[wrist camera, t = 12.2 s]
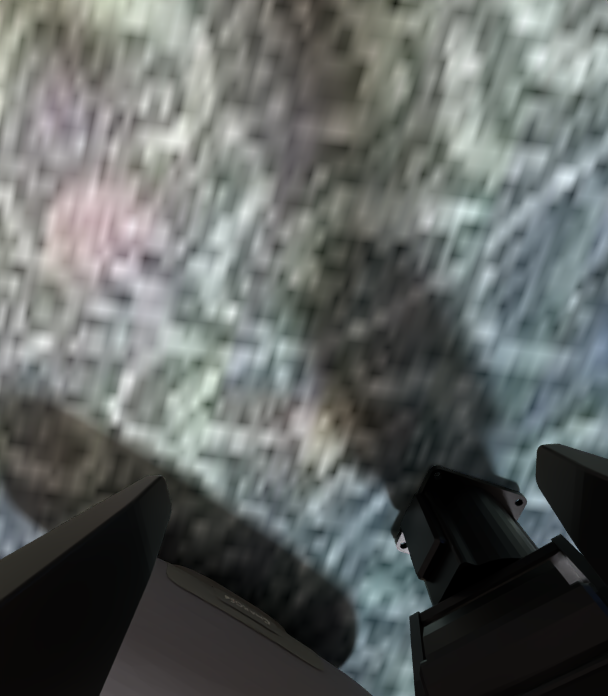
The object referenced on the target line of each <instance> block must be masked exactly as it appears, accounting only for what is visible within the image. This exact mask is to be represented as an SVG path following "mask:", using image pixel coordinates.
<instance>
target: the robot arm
mask: <svg viewBox="0 0 608 696" xmlns="http://www.w3.org/2000/svg"><path fill="white" fill-rule="evenodd" d="M436 473H440V474H439V475H438V476H434V475H435V474H436ZM536 482H537V485H538V487H539V489H540V490H541V492H542V493H543V495H544V497H545V498H546V500H547V501H548V503H549V504H550V506H551V508H552V509H553V511H554V512H555V514H556V515H557V517H558V519H559V520H560V522H561V523H562V525H563V527H564V528H565V530H566V531H567V533H568V534H569V536H570V538H571V539H572V541H573V542H574V544H575V545H576V546H577V548H578V549H579V551H580V552H581V553H582V554H581V553H580V552H579V551H578V550H577V549H576V548H575V547H574V546H573V545H572V544H571V543H569V542H568V541H567V540H566V539H565V538H564V537H563V536H562V535H561V534H560V535H558V536H556V537H554V538H552V539H551V540H552V542H550V543H548V544H546V545H545V546H543V547H541V548H539V549H538V548H537V546H536V545H535V544H534V542H533V541H532V540H531V539H530V537H529V536H528V535H527V533H526V532H525V531H524V530H523V528H522V527H521V526H520V524H519V523H518V522H517V520H518V518H519V516H520V515H521V513H522V511H523V509H524V508H525V506H526V504H527V500H526V498H525V497H524V496H523V495H522V494H521V493H520V492H517V491H514V490H511V489H508V488H505V487H502V486H499V485H496V484H493V483H490V482H487V481H484V480H481V479H478V478H475V477H472V476H469V475H466V474H463V473H460V472H456V471H453V470H450V469H447V468H444V467H441V466H437V465H436V466H433V467H431V468H430V469H429V471H428V473H427V475H426V477H425V479H424V481H423V483H422V485H421V488H420V490H419V492H418V493H416V494H415V495H414V497H413V499H412V501H411V503H410V505H409V507H408V509H407V511H406V513H405V515H404V518H403V520H402V522H401V524H400V526H401V529H400V531H399V533H398V535H397V537H396V539H395V543H396V547H397V549H398V550H399V551H401V552H404V553H407V554H410V556H411V560H412V563H413V566H414V569H415V572H416V574H417V576H418V578H419V579H420V580H423V581H424V582H425V585H426V588H427V591H428V594H429V597H430V600H431V602H432V605H433V606H432V607H431V608H429V609H427V610H425V611H423V612H421V613H420V612H416V613H415V614H413V615H411V616H410V617H409V618H410V631H411V634H410V635H411V648H412V661H413V673H414V686H415V696H608V459H606V458H603V457H600V456H596V455H593V454H590V453H587V452H584V451H580V450H577V449H574V448H571V447H568V446H564V445H561V444H546V445H541V446H539V447H538V449H537V459H536ZM517 499H519V500H518V501H517V502H515V501H516V500H517ZM170 514H171V500H170V496H169V491H168V487H167V482H166V479H165V477H164V476H162V475H154V476H146V477H144V478H142V479H141V480H139V481H137V482H135V483H134V484H132V485H130V486H128V487H127V488H125V489H123V490H121V491H120V492H118V493H116V494H114V495H113V496H111V497H109V498H107V499H106V500H104V501H102V502H100V503H99V504H97V505H95V506H93V507H92V508H90V509H88V510H86V511H85V512H83V513H81V514H79V515H78V516H76V517H74V518H72V519H71V520H69V521H67V522H65V523H64V524H62V525H60V526H58V527H57V528H55V529H53V530H51V531H50V532H48V533H46V534H44V535H43V536H41V537H39V538H37V539H36V540H34V541H32V542H30V543H29V544H27V545H25V546H23V547H22V548H20V549H18V550H16V551H15V552H13V553H11V554H9V555H8V556H6V557H4V558H2V559H1V560H0V696H100V693H101V691H102V689H103V686H104V684H105V682H106V679H107V677H108V675H109V672H110V670H111V668H112V665H113V663H114V661H115V658H116V656H117V654H118V651H119V649H120V647H121V644H122V642H123V640H124V638H125V635H126V633H127V631H128V628H129V626H130V624H131V621H132V619H133V617H134V614H135V612H136V610H137V607H138V605H139V603H140V600H141V598H142V596H143V593H144V591H145V589H146V586H147V584H148V581H149V579H150V576H151V574H152V571H153V568H154V565H155V562H156V559H157V556H158V553H159V549H160V546H161V543H162V540H163V537H164V534H165V530H166V527H167V524H168V521H169V518H170ZM403 542H405V544H401V543H403Z"/></svg>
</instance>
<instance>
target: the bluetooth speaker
mask: <svg viewBox="0 0 608 696" xmlns="http://www.w3.org/2000/svg"><path fill="white" fill-rule="evenodd" d="M100 696H372V695H371V694H370V693H369V692H368V691H366V690H365V689H364V688H363V687H362V686H360V685H359V684H358V683H357V682H355V681H354V680H353V679H352V678H350V677H349V676H348V675H346V674H345V673H343V672H342V671H341V670H339V669H338V668H336V667H335V666H333V665H332V664H330V663H329V662H327V661H326V660H324V659H323V658H321V657H320V656H319V655H317V654H316V653H315V652H314V651H313V650H311V649H310V648H308V647H307V646H305V645H304V644H302V643H301V642H299V641H298V640H296V639H295V638H293V637H292V636H290V635H289V634H287V633H286V631H285V629H284V628H283V627H282V626H281V625H280V624H279V623H278V622H276V621H275V620H274V619H273V618H272V617H270V616H269V615H267V614H266V613H265V612H263V611H262V610H260V609H259V608H257V607H256V606H254V605H253V604H251V603H249V602H248V601H246V600H244V599H243V598H241V597H239V596H238V595H236V594H235V593H233V592H231V591H230V590H228V589H226V588H225V587H223V586H221V585H220V584H218V583H217V582H215V581H213V580H212V579H210V578H208V577H206V576H204V575H202V574H200V573H198V572H196V571H194V570H192V569H189V568H186V567H183V566H180V565H175V564H174V565H172V564H170V563H168V562H167V561H166V562H165V561H163V560H161V559H159V558H157V559H156V562H155V565H154V568H153V571H152V574H151V576H150V579H149V581H148V584H147V586H146V589H145V591H144V593H143V596H142V598H141V600H140V603H139V605H138V607H137V610H136V612H135V614H134V617H133V619H132V621H131V624H130V626H129V628H128V631H127V633H126V635H125V638H124V640H123V642H122V644H121V647H120V649H119V651H118V654H117V656H116V658H115V661H114V663H113V665H112V668H111V670H110V672H109V675H108V677H107V679H106V682H105V684H104V686H103V689H102V691H101V693H100Z"/></svg>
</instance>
